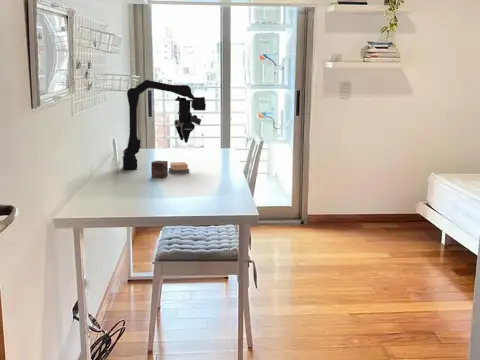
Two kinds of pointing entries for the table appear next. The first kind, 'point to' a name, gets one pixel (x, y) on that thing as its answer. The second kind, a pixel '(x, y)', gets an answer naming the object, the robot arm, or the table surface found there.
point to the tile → (178, 165)
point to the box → (159, 169)
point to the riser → (177, 171)
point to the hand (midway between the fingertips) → (183, 141)
